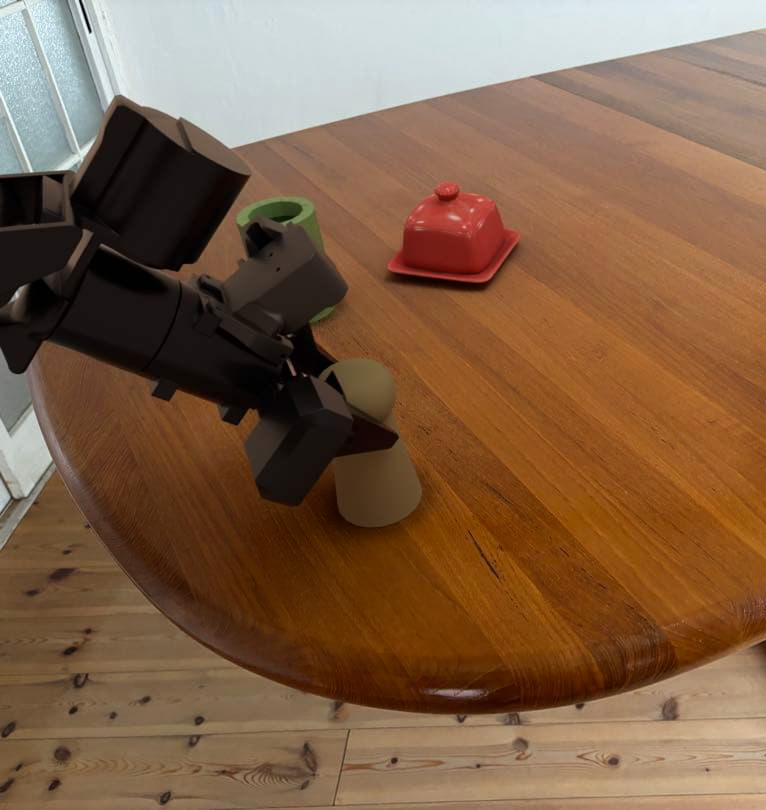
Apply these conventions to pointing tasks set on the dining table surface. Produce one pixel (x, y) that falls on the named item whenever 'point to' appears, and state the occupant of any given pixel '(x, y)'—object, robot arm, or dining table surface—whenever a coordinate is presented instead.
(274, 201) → the green cylindrical container
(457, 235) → the butter dish
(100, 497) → the dining table surface
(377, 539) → the dining table surface
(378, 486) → the tan peg doll
